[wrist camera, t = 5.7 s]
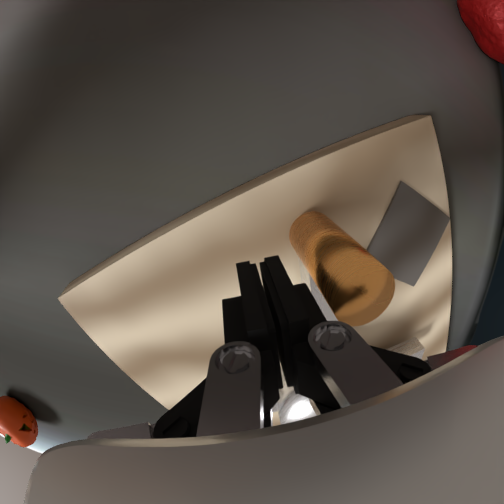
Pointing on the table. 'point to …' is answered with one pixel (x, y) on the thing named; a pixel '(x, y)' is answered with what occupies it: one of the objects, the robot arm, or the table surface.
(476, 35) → the pomegranate
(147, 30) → the table surface
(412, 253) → the wooden board
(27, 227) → the table surface
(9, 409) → the pumpkin
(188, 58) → the table surface
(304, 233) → the cylinder
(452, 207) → the table surface
